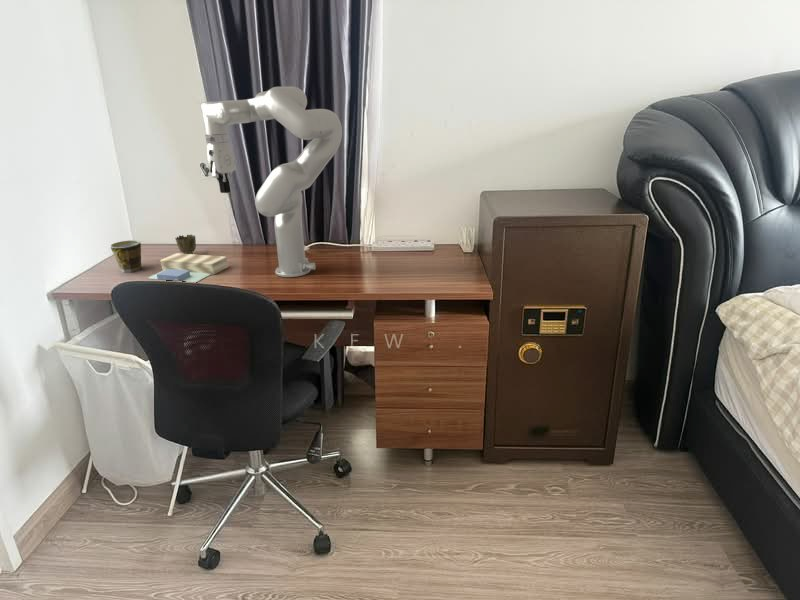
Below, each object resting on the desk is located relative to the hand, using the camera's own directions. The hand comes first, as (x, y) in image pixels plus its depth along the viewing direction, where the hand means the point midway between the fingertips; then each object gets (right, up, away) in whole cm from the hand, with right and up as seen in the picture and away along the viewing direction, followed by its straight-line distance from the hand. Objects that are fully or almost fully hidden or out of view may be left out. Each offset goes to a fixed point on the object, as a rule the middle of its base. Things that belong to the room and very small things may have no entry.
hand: (225, 192), depth 188 cm
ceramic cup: (-37, -28, +6) cm, 47 cm away
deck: (-13, -27, +6) cm, 31 cm away
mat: (-16, -31, -2) cm, 34 cm away
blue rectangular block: (-17, -29, -5) cm, 34 cm away
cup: (-22, -21, +21) cm, 37 cm away
